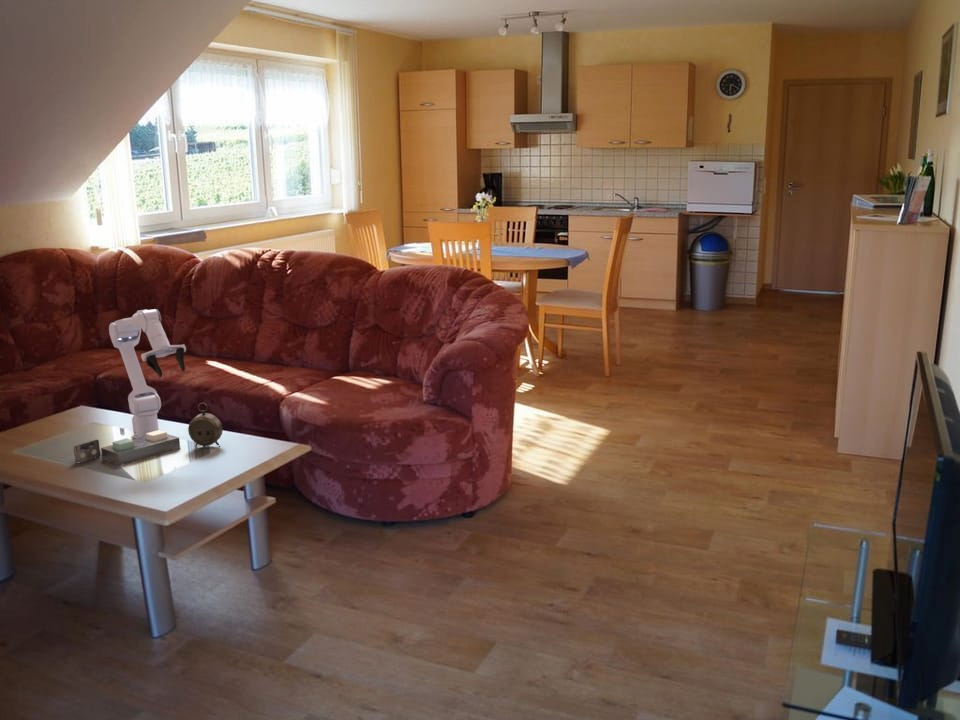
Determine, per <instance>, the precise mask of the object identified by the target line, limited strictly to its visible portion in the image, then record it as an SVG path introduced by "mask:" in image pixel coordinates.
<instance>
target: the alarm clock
mask: <svg viewBox="0 0 960 720" xmlns="http://www.w3.org/2000/svg"><path fill="white" fill-rule="evenodd" d="M201 405H205V406H206V409H205V410H204V409H203V410H202V409H200V406H201ZM197 410H198V411H200V412H201V413H199V414H197V415H196V416H195V417H194V418H193V419H191V421H190V422H189V424H188V428H187V429H188V430H187V431H188V435H189V438H190V439H191V440H192V441H193V443H195V445H194V447H195V448H196V447H197V446H198V445H199V446H202V449H203V450H206V447H208V446H212V445H213V444H216V445H217V446H218V445H220V443H219V442H218V440H219V439H220V438H221V437H222V435H223V424H222V422H221V421H220V419H219V418H218V416H216V415H214V414H212V413H209V412H206V411H207V410H208V405H207V403H205V402H200V403H198V405H197Z"/></svg>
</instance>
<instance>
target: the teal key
mask: <svg viewBox="0 0 960 720" xmlns="http://www.w3.org/2000/svg"><path fill="white" fill-rule="evenodd" d="M112 445H113V449H115V450H118V451H122V450H125V449H129V448H133V447H135V446H134V441H133V439H130V438H123V439H119V440H115V441H112Z"/></svg>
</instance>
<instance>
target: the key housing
mask: <svg viewBox="0 0 960 720" xmlns="http://www.w3.org/2000/svg"><path fill="white" fill-rule="evenodd" d="M132 440H133V441H134V446H135V447H133V448H129V449H125V450H122V451H118V450H115V449H113V444H111V445H107V446H104V447H100V453H101V458H102V460H104V461H106V462H109V463H111V464H114V465H117V466H119V467H121V466H124V465H127V464H132V463H135V462H138V461H141V460H145V459H148V458H149V459H150V458H152V457H157V456H159V455H163V454H166V453H171V452H173V451H174V452H175V451H177V450H180V449H181V445H180V444H181V441H180V437H178V436H175V435H172V434H169V433H167V438H166V439H162V440H159V441H155V442H152V441H149V440H146V436H144V437H141V438H137V439H136V438H134V439H132Z"/></svg>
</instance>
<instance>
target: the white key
mask: <svg viewBox="0 0 960 720" xmlns="http://www.w3.org/2000/svg"><path fill="white" fill-rule="evenodd" d="M167 434H168V433H167V432H166V431H163V430H160V429H159V430H157V431H153V432H149V433H146V440H149V441H152V442H155V441H159V440H162V439H166V438H167Z"/></svg>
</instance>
